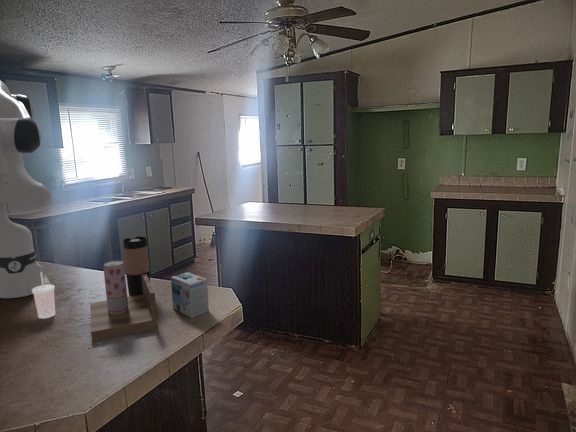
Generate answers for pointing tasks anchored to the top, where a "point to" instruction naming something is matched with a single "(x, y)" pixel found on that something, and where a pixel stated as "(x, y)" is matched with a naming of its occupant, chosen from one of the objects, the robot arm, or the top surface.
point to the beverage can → (115, 287)
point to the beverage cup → (44, 299)
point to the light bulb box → (190, 294)
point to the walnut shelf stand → (125, 315)
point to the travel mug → (136, 263)
